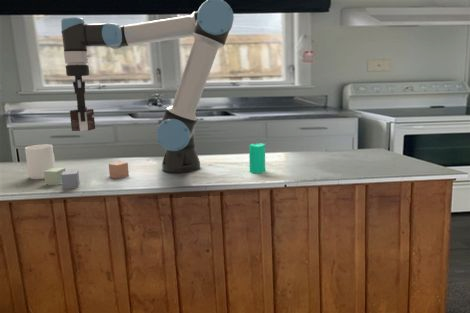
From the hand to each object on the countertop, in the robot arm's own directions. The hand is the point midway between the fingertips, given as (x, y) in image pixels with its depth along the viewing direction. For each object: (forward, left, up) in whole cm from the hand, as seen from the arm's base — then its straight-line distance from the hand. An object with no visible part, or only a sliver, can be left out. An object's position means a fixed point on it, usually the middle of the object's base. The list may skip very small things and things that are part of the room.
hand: (83, 129), depth 147 cm
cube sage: (+8, +7, -19) cm, 22 cm away
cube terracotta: (-8, -7, -19) cm, 22 cm away
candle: (-57, -27, -19) cm, 66 cm away
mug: (+21, 0, -19) cm, 28 cm away
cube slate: (0, +9, -19) cm, 21 cm away
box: (0, 0, -1) cm, 1 cm away
